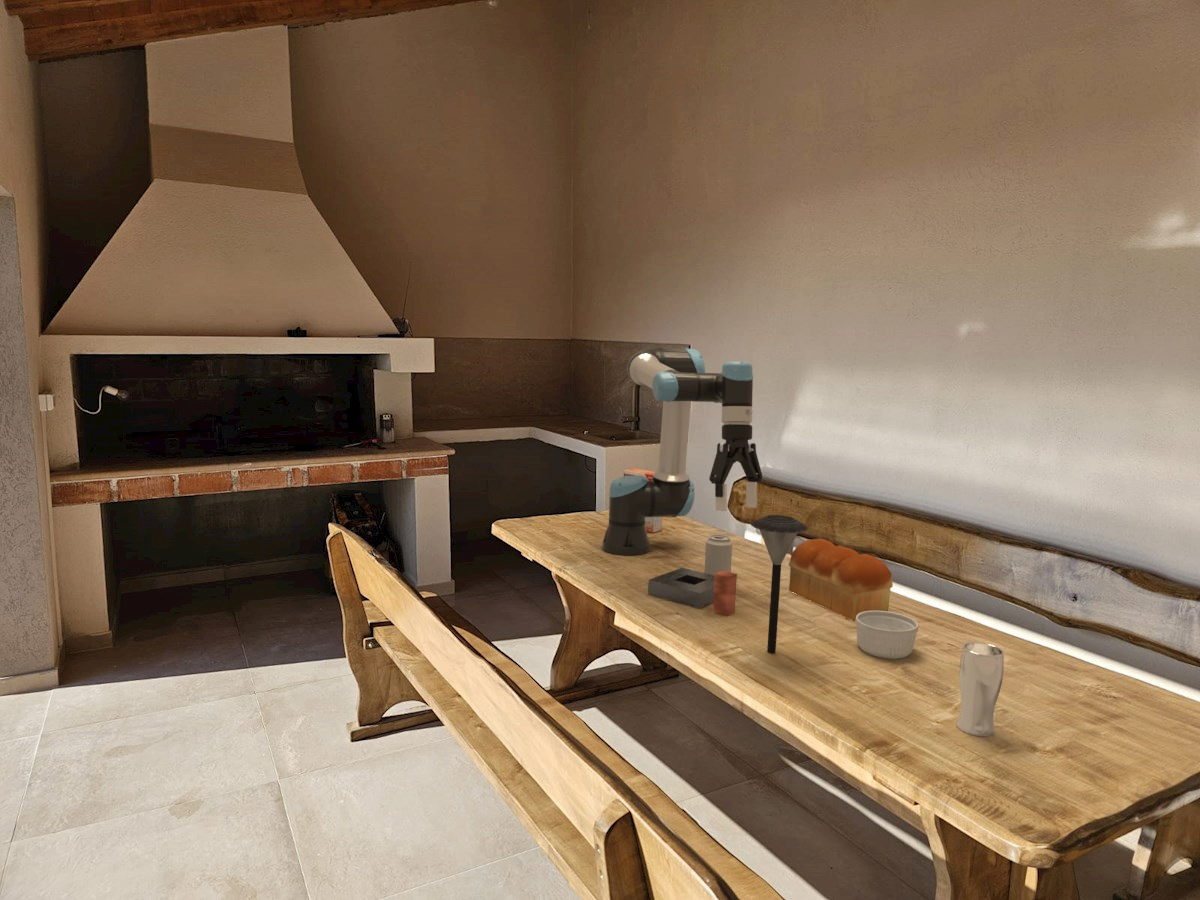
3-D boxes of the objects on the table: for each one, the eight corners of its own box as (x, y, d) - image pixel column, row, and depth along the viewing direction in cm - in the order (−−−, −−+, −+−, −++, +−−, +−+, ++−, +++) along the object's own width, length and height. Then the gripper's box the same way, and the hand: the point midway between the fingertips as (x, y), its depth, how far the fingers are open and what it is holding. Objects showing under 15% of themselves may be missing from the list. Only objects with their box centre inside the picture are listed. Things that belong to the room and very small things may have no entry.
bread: (786, 591, 221) (790, 539, 219) (822, 586, 227) (825, 535, 225) (853, 621, 199) (857, 563, 197) (890, 615, 205) (895, 558, 203)
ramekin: (875, 663, 173) (878, 632, 172) (841, 641, 186) (843, 612, 185) (928, 659, 177) (931, 628, 176) (891, 637, 189) (894, 608, 188)
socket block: (647, 594, 215) (648, 579, 214) (681, 581, 227) (682, 567, 226) (699, 608, 205) (699, 593, 204) (731, 594, 217) (732, 579, 216)
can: (729, 574, 236) (731, 533, 234) (731, 581, 228) (733, 540, 226) (703, 572, 236) (705, 532, 235) (704, 580, 229) (706, 538, 227)
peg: (712, 612, 202) (714, 573, 201) (720, 608, 205) (723, 570, 204) (726, 616, 200) (728, 577, 198) (734, 612, 203) (736, 573, 201)
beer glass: (946, 719, 148) (954, 641, 146) (983, 719, 149) (991, 641, 146) (966, 738, 141) (975, 656, 139) (1004, 738, 142) (1013, 656, 140)
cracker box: (620, 526, 289) (622, 469, 286) (631, 524, 294) (633, 467, 291) (652, 534, 280) (654, 474, 278) (662, 531, 285) (665, 472, 282)
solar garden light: (806, 663, 172) (816, 525, 167) (748, 662, 172) (757, 524, 167) (792, 641, 184) (801, 512, 180) (738, 640, 184) (746, 511, 179)
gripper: (721, 422, 190) (720, 513, 190) (776, 424, 208) (775, 506, 209) (695, 423, 195) (694, 511, 196) (751, 424, 214) (750, 505, 214)
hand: (736, 509), depth 202 cm, fingers open, 13 cm apart
